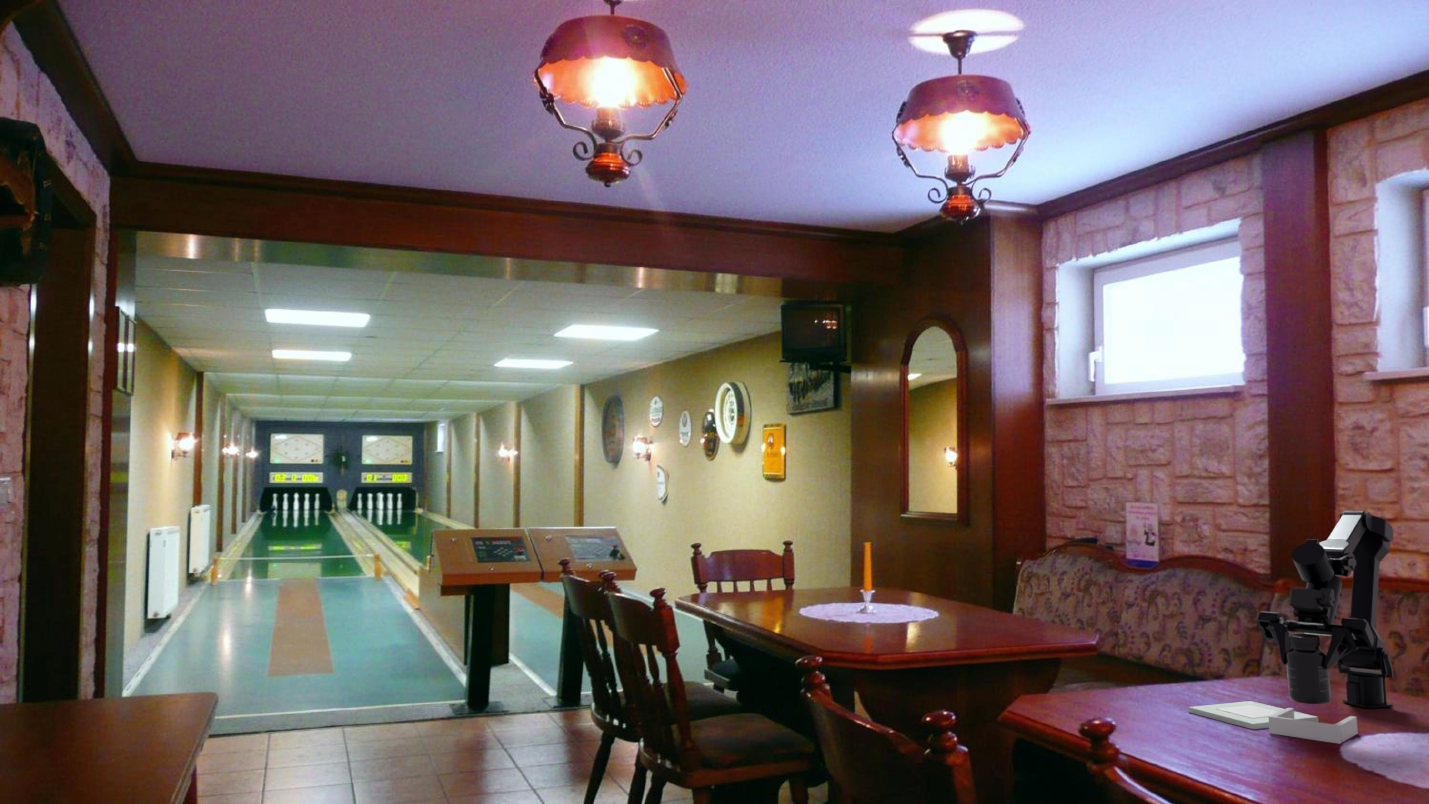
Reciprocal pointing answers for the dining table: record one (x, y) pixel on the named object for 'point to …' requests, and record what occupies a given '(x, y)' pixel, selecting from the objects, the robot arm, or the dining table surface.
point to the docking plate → (1245, 713)
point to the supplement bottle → (1307, 670)
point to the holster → (1312, 727)
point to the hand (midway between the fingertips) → (1304, 665)
